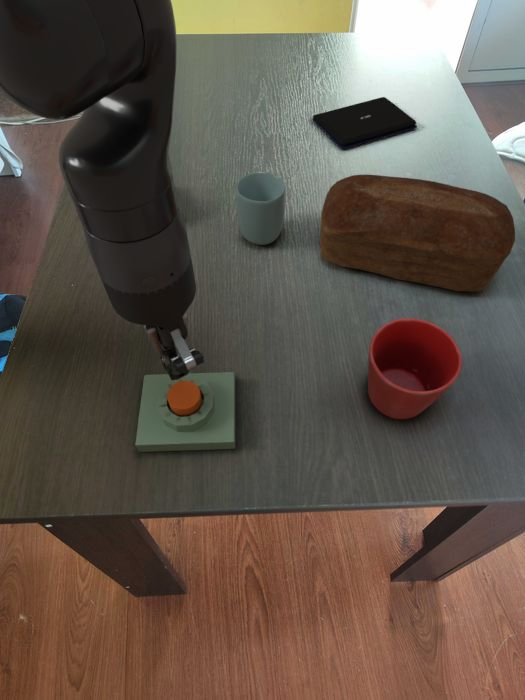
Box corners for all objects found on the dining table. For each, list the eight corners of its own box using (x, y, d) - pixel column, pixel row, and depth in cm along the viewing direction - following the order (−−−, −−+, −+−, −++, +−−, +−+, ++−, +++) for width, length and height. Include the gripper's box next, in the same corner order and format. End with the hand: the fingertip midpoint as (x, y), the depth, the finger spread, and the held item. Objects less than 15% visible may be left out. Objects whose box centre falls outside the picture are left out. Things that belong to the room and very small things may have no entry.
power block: (139, 452, 58) (131, 439, 54) (147, 382, 63) (141, 367, 60) (235, 449, 58) (233, 435, 55) (235, 380, 64) (233, 364, 60)
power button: (168, 416, 57) (165, 409, 55) (170, 387, 59) (168, 380, 57) (201, 415, 57) (199, 408, 55) (202, 386, 59) (200, 379, 57)
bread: (489, 307, 71) (526, 247, 61) (309, 269, 76) (317, 207, 65) (491, 247, 78) (525, 184, 68) (328, 215, 83) (337, 152, 73)
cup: (274, 256, 77) (276, 207, 69) (231, 245, 79) (227, 195, 71) (289, 226, 81) (292, 177, 73) (248, 216, 83) (246, 166, 75)
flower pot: (339, 386, 63) (350, 345, 55) (397, 348, 67) (415, 304, 59) (394, 446, 58) (415, 410, 50) (454, 401, 62) (482, 361, 54)
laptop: (306, 113, 102) (307, 103, 101) (389, 99, 106) (391, 90, 104) (332, 153, 94) (334, 144, 92) (422, 137, 97) (425, 128, 95)
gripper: (224, 290, 35) (236, 399, 50) (151, 195, 42) (180, 316, 56) (133, 332, 33) (172, 434, 47) (70, 225, 40) (121, 342, 54)
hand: (176, 369), depth 52 cm, fingers closed
